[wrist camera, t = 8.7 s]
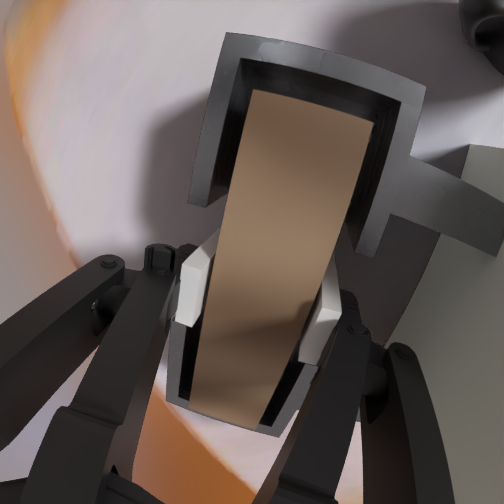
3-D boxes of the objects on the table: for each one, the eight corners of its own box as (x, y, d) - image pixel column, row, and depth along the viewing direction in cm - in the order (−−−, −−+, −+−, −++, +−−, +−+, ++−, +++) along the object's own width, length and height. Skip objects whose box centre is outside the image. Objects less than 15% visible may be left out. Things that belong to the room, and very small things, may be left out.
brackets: (259, 69, 15) (226, 32, 9) (469, 143, 14) (536, 154, 8) (200, 338, 23) (165, 400, 17) (360, 383, 22) (364, 452, 16)
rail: (273, 104, 13) (253, 89, 9) (353, 127, 13) (373, 122, 8) (213, 354, 20) (188, 407, 15) (269, 372, 19) (255, 429, 15)
